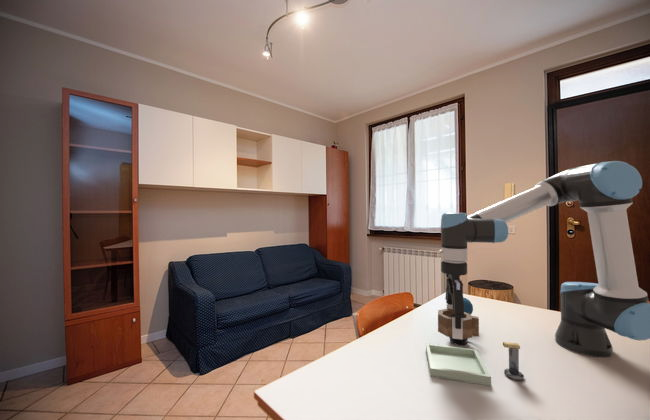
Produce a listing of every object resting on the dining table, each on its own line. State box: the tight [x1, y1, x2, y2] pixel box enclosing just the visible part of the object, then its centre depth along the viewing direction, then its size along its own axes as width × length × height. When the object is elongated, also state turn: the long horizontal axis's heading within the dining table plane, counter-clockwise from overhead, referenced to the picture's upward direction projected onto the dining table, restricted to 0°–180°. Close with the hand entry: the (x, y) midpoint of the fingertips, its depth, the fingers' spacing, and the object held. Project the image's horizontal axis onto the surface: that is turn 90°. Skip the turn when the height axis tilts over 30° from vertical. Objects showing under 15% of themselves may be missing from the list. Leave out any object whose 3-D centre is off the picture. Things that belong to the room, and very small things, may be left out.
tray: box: [425, 343, 492, 387], centre depth 86 cm, size 16×16×2 cm
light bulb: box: [463, 296, 474, 315], centre depth 118 cm, size 8×8×12 cm
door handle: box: [502, 341, 525, 382], centre depth 81 cm, size 5×5×10 cm
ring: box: [437, 308, 480, 339], centre depth 86 cm, size 12×10×6 cm
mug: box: [448, 337, 469, 346], centre depth 103 cm, size 8×12×10 cm
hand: (454, 330), depth 87 cm, fingers closed on ring, 10 cm apart
